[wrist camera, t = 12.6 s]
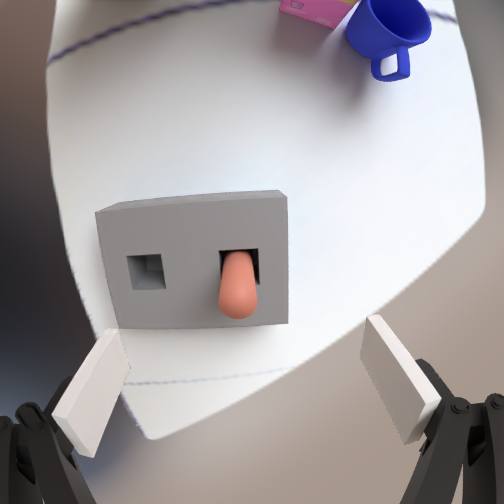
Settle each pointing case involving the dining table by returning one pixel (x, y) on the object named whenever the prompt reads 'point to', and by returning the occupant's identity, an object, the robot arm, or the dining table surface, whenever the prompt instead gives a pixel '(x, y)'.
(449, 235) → the dining table surface
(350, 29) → the mug
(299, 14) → the gum box
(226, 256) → the pin
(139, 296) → the hole block
